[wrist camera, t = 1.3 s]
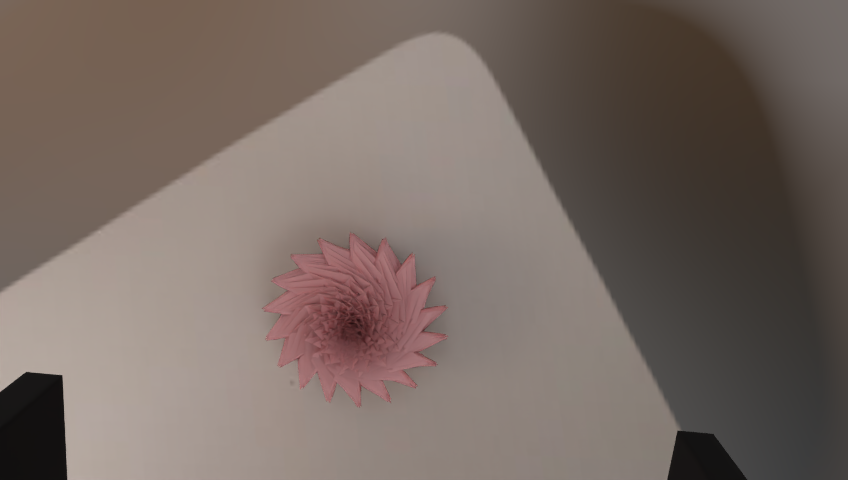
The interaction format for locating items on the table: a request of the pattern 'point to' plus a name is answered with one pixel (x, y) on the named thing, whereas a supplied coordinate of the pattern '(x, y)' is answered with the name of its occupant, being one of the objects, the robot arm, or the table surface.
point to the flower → (354, 318)
